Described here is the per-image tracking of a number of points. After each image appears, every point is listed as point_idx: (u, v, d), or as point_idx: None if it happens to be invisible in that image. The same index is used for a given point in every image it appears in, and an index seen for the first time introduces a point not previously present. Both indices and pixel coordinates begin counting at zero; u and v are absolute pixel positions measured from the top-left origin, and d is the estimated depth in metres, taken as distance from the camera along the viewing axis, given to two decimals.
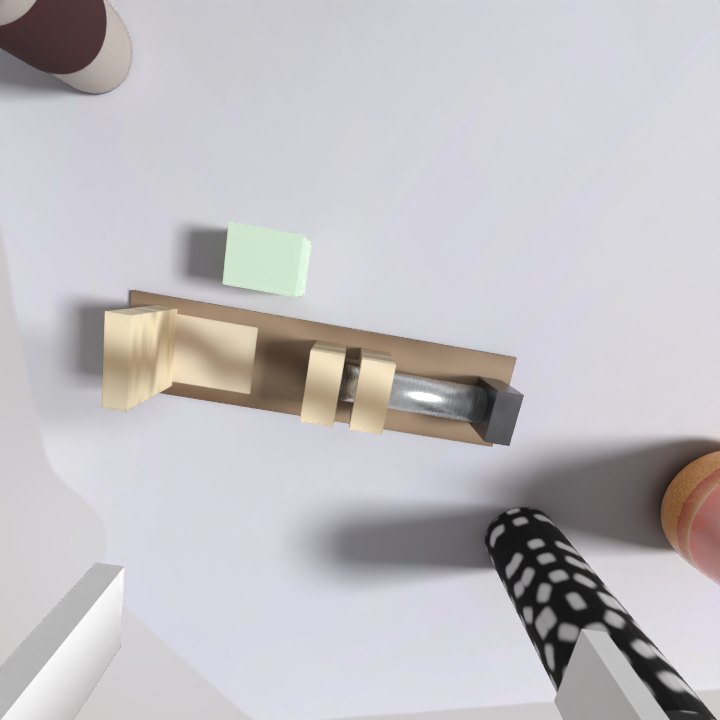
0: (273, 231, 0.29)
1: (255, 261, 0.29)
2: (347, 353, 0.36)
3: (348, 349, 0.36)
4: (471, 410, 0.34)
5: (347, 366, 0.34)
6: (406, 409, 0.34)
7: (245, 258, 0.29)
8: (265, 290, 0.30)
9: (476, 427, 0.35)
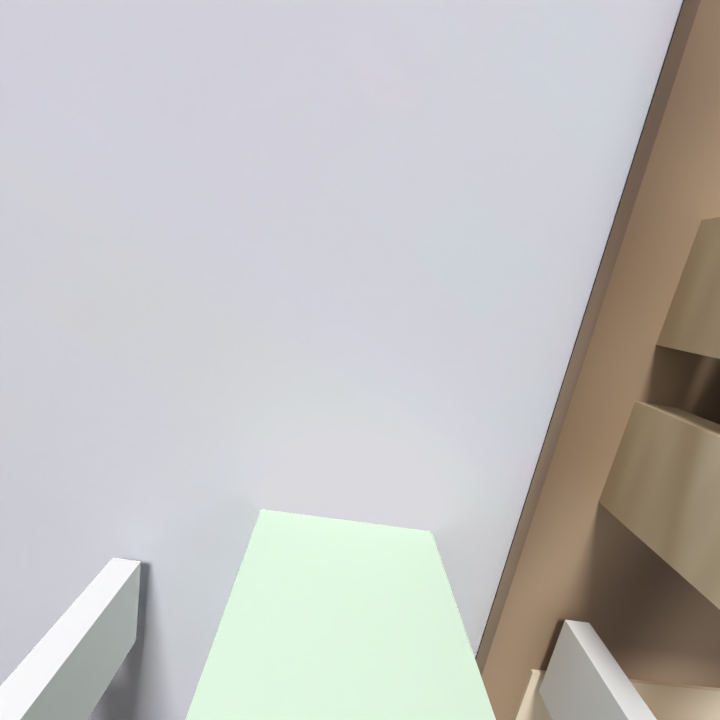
0: None
1: None
2: (666, 398, 0.09)
3: (653, 393, 0.09)
4: None
5: None
6: None
7: None
8: None
9: None
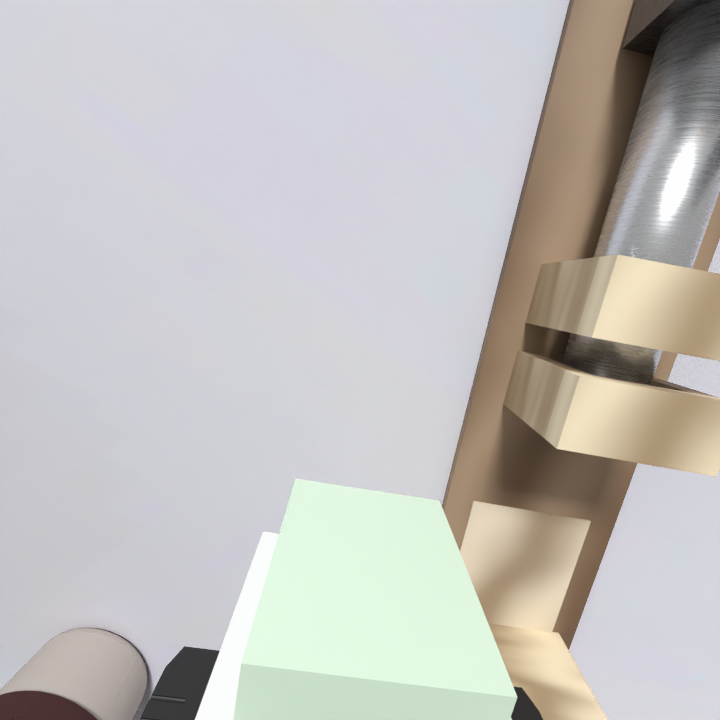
0: None
1: None
2: (533, 349, 0.19)
3: (526, 346, 0.19)
4: None
5: (577, 357, 0.16)
6: (707, 224, 0.14)
7: None
8: None
9: None
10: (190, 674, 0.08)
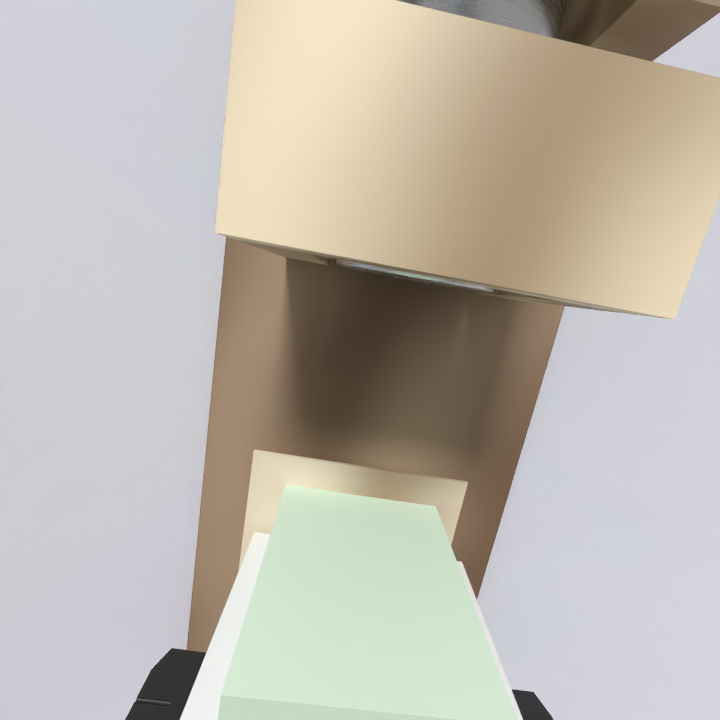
0: None
1: None
2: None
3: None
4: None
5: None
6: None
7: None
8: None
9: None
10: (177, 676, 0.08)
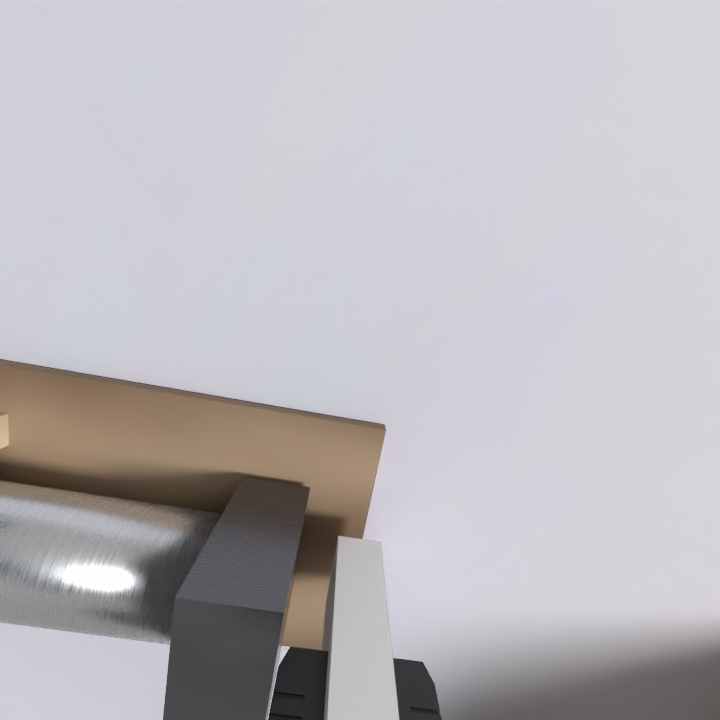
0: None
1: None
2: None
3: None
4: (143, 626, 0.10)
5: None
6: None
7: None
8: None
9: None
10: (303, 673, 0.08)
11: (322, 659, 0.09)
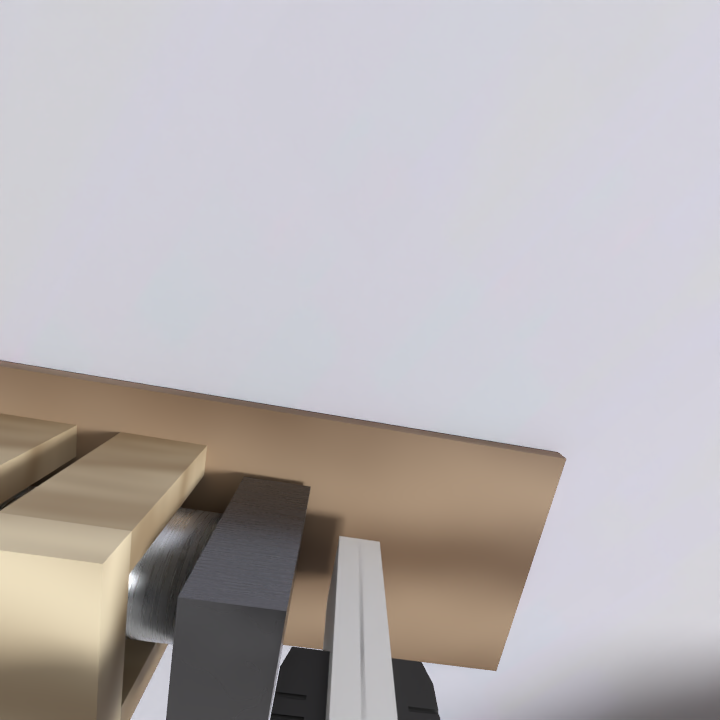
0: None
1: None
2: (82, 446, 0.13)
3: (84, 437, 0.13)
4: (145, 626, 0.10)
5: None
6: None
7: None
8: None
9: None
10: (304, 673, 0.08)
11: (323, 659, 0.09)
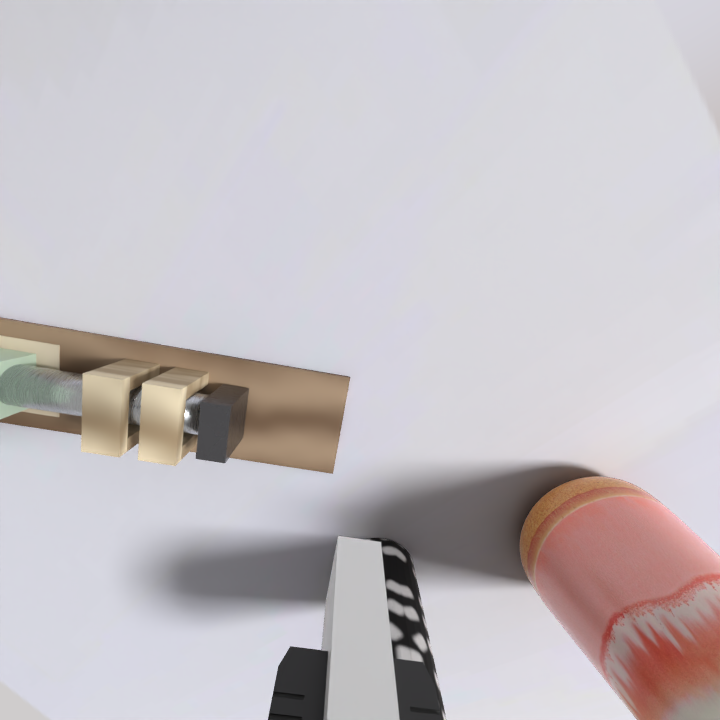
0: None
1: None
2: (161, 372, 0.33)
3: (162, 368, 0.33)
4: (189, 423, 0.30)
5: (52, 373, 0.30)
6: None
7: None
8: None
9: None
10: (302, 672, 0.08)
11: (322, 659, 0.09)
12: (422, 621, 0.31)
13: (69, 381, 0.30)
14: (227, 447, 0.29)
